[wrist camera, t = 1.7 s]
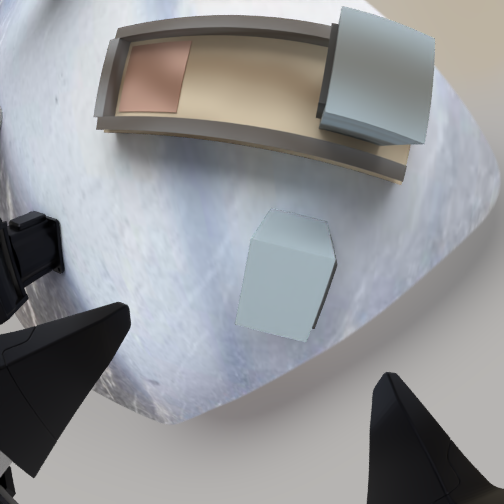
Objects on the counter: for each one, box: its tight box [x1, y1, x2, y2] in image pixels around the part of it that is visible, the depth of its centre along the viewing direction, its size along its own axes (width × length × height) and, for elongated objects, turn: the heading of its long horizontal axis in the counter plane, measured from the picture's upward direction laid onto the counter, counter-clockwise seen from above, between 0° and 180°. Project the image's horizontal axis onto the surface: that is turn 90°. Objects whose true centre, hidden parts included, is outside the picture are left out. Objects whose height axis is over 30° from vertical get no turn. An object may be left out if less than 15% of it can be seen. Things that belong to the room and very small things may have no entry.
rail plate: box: [94, 6, 435, 185], centre depth 12 cm, size 9×22×8 cm, turn 80°
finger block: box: [235, 208, 337, 342], centre depth 16 cm, size 5×4×7 cm
